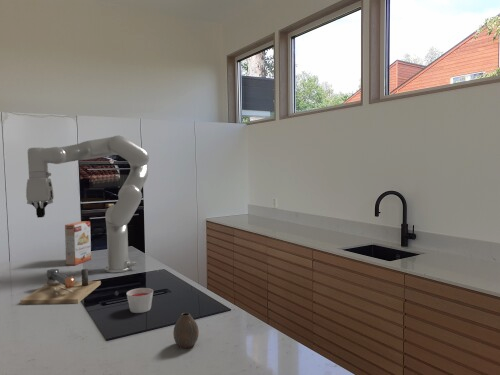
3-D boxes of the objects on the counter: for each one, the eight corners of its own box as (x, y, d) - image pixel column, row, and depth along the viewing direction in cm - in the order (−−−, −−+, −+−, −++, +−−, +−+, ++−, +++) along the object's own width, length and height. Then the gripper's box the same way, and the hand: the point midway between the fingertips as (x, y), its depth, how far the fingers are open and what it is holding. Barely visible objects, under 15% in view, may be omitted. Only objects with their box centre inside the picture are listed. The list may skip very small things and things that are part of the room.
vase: (175, 340, 114) (174, 310, 113) (199, 338, 114) (198, 309, 114) (172, 351, 107) (171, 319, 106) (198, 350, 107) (197, 318, 107)
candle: (158, 306, 141) (158, 289, 141) (144, 316, 132) (143, 297, 132) (137, 304, 144) (136, 287, 144) (121, 313, 135) (120, 294, 135)
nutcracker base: (100, 284, 169) (99, 265, 168) (78, 303, 146) (77, 281, 145) (51, 285, 168) (50, 266, 168) (20, 304, 145) (19, 282, 145)
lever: (45, 277, 164) (45, 270, 164) (56, 275, 167) (56, 268, 167) (65, 288, 149) (65, 280, 149) (77, 286, 152) (77, 277, 152)
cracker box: (76, 265, 202) (74, 224, 201) (65, 265, 203) (63, 224, 202) (92, 259, 216) (90, 220, 214) (82, 258, 217) (80, 220, 216)
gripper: (59, 175, 179) (61, 215, 180) (25, 175, 178) (27, 216, 179) (52, 175, 171) (54, 217, 172) (16, 176, 171) (19, 218, 172)
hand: (40, 217), depth 176 cm, fingers closed
